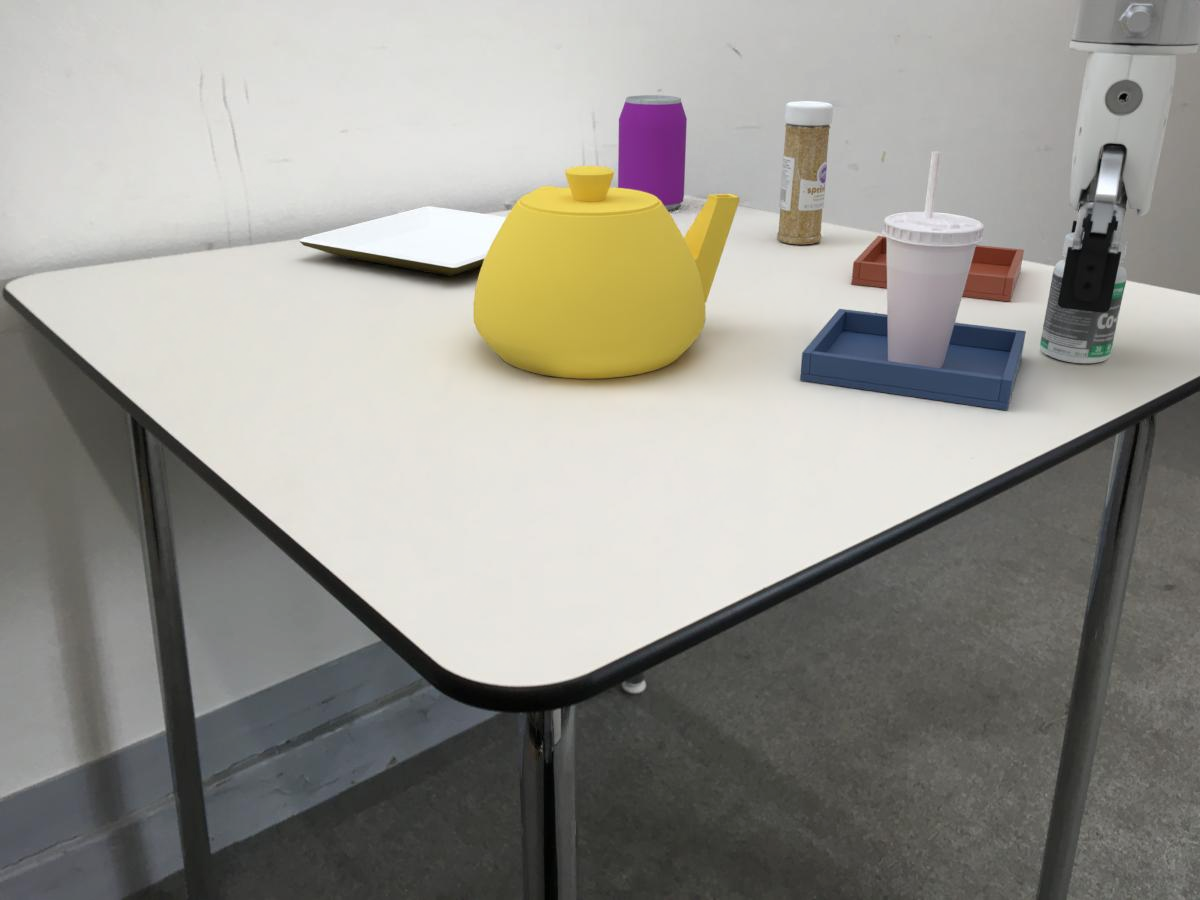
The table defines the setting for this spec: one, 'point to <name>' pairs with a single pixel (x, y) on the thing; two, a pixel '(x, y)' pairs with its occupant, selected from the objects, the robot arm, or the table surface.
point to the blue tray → (968, 375)
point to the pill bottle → (1081, 319)
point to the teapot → (598, 279)
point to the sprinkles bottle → (804, 171)
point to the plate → (416, 240)
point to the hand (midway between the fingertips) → (1085, 291)
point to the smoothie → (926, 277)
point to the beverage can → (653, 147)
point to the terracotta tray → (986, 276)
